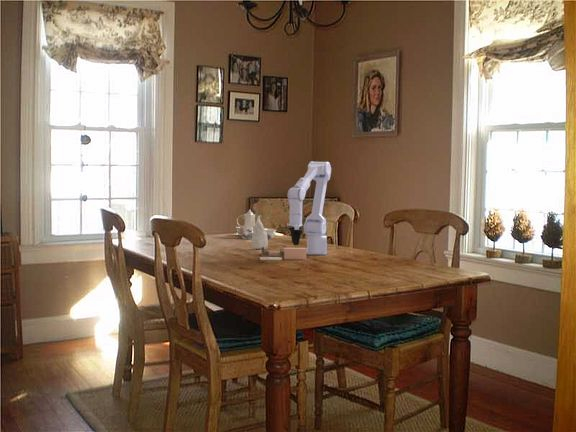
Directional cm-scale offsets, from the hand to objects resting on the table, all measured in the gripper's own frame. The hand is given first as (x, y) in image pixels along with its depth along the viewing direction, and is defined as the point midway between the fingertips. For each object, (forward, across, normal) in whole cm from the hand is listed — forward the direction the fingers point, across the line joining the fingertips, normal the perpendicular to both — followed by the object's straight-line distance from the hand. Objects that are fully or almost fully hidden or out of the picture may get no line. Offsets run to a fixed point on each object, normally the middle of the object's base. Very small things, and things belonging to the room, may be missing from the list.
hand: (295, 243), depth 314 cm
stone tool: (+7, -29, -15) cm, 34 cm away
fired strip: (+7, +1, -11) cm, 13 cm away
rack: (+7, -9, -9) cm, 14 cm away
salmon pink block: (+7, 0, 0) cm, 7 cm away
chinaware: (+7, -74, -18) cm, 77 cm away
